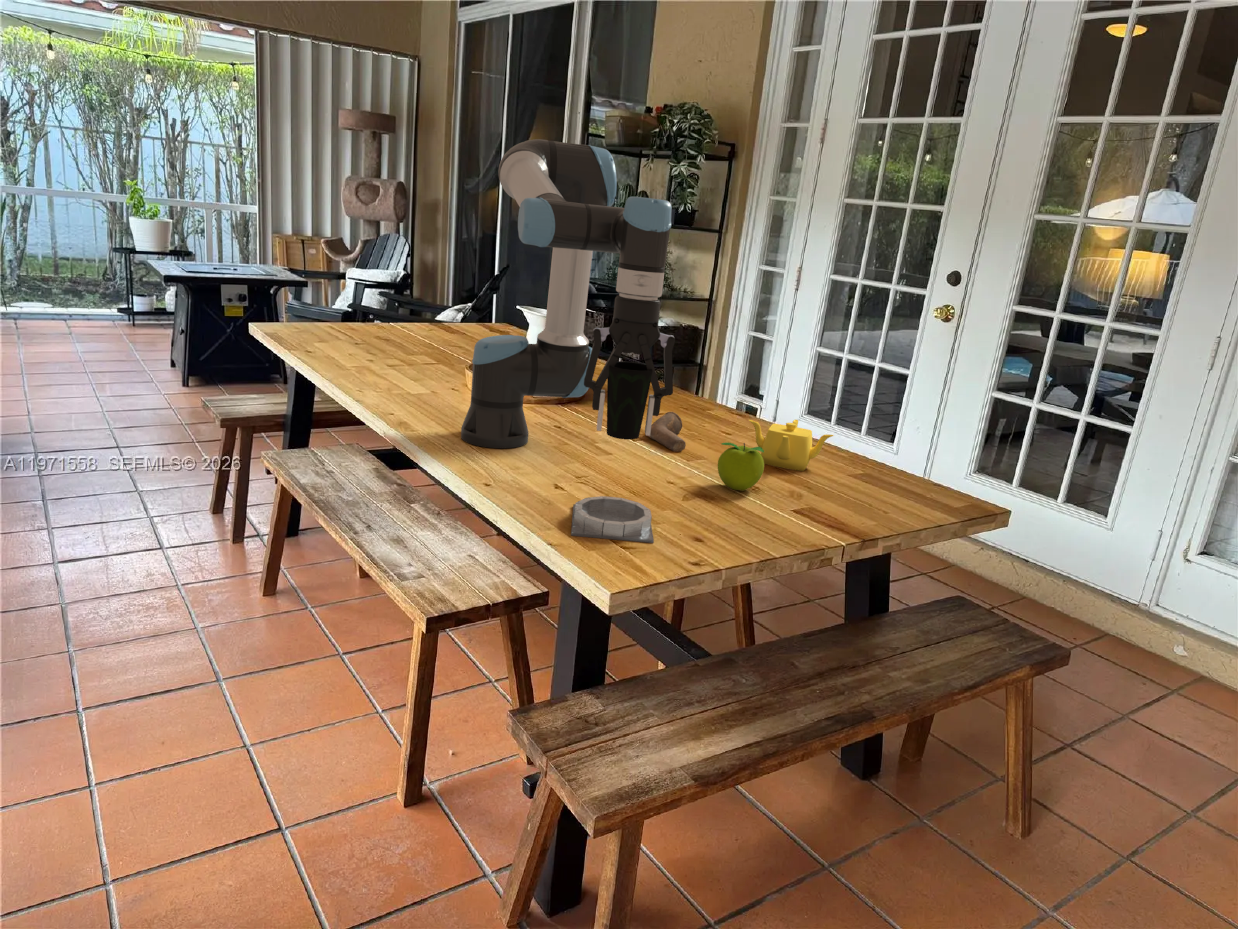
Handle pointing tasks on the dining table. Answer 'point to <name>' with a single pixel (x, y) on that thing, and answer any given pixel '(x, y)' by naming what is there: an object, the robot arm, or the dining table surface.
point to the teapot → (788, 445)
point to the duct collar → (612, 519)
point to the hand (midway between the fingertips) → (623, 430)
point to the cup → (626, 398)
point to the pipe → (668, 431)
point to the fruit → (740, 466)
